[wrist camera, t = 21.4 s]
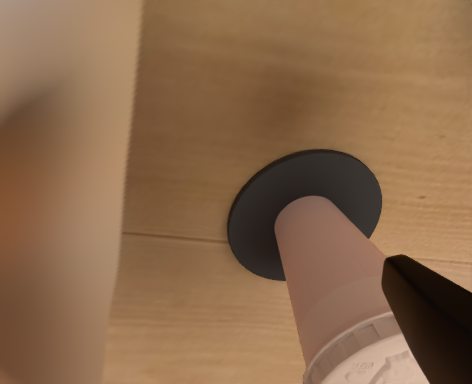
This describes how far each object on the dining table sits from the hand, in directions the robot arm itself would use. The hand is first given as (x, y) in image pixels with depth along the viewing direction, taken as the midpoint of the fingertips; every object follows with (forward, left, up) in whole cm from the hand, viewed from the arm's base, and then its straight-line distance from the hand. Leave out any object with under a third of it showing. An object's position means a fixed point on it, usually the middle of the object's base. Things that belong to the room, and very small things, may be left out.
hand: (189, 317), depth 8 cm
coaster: (+10, 0, -11) cm, 15 cm away
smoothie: (+10, 0, -11) cm, 14 cm away
